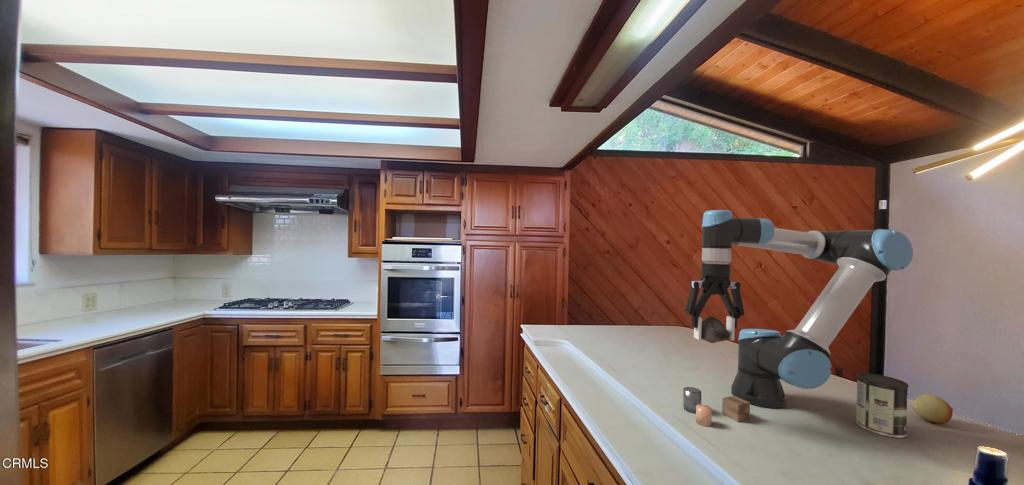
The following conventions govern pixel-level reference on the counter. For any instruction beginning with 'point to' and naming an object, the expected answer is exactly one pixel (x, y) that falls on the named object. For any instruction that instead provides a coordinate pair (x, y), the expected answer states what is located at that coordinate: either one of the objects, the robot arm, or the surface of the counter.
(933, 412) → the fruit
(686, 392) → the metal tin
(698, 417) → the peach rounded capsule
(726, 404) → the walnut block
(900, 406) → the coffee can
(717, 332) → the stone
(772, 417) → the counter surface
